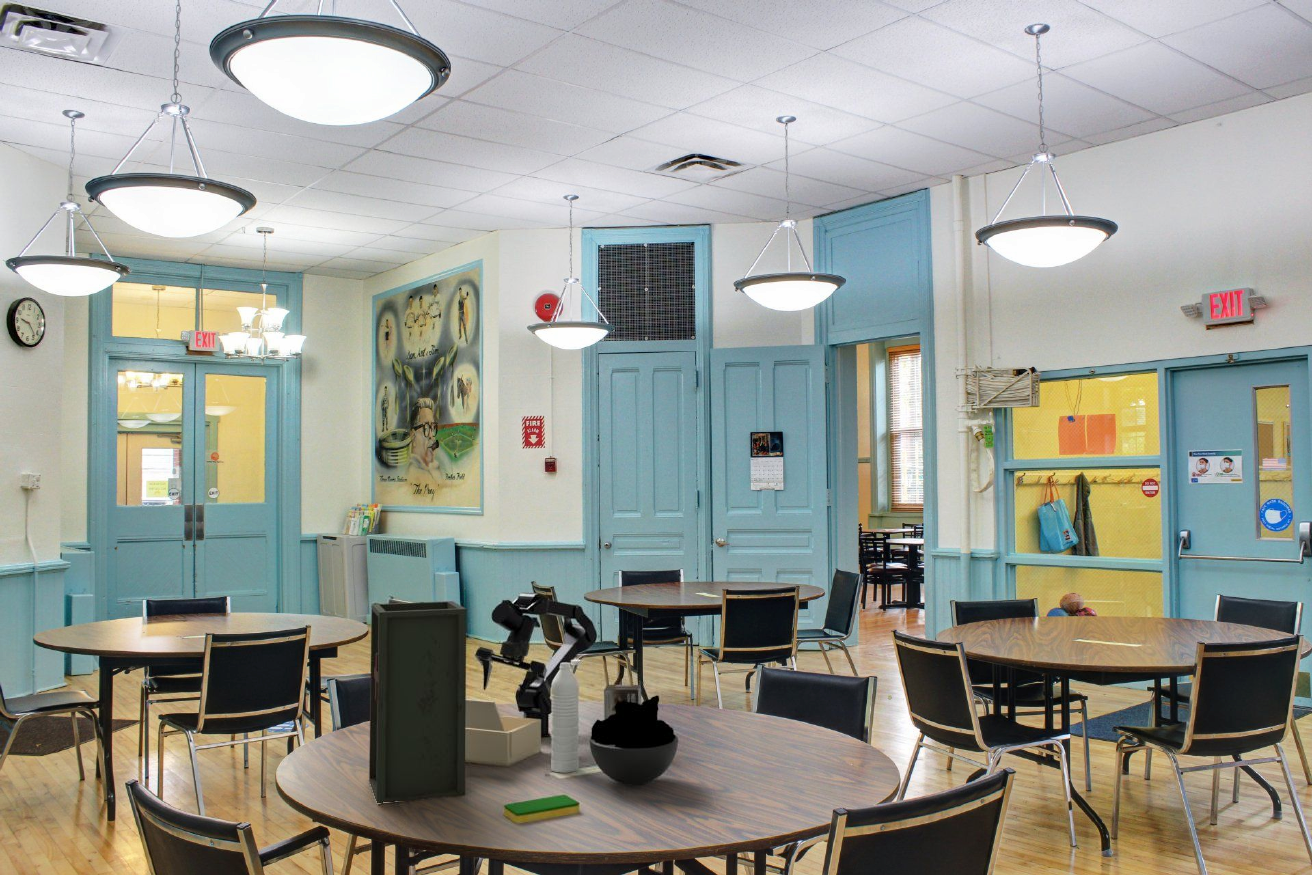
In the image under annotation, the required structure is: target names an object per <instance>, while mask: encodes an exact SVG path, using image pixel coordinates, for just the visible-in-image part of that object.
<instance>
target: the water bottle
mask: <svg viewBox="0 0 1312 875" xmlns="http://www.w3.org/2000/svg"><path fill="white" fill-rule="evenodd" d="M571 665H573V666H578V665H579V666H580V665H582V659H573V660H571V663H560V670H559V671H558V673H557V675H556V676H555V678H554V679H553V681H552V685H551V700H552V713H551V718H550V719H551V720H550V721H551V722H550V723H551V733H550V737H551V743H550V744H551V751H550V752H551V754H550V755H551V756H550V757H551V761H550V762H551V763H550V768H551V771H552V772H555V773H563V774H567V773H574V772H576V771H578V770H579V765H580V759H579V754H580V753H579V752H580V750H579V748H580V744H579V739H580V734H579V731H580V729H579V727H580V726H579V722H580V720H579V719H580V718H579V714H580V713H579V703H580V702H579V689H580V687H579V686H580V684H579V683H580V682H579V680H578V679H577V676H576V675H575V674H574V672H573V671H572V670H571V667H572V666H571Z"/></svg>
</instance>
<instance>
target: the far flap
mask: <svg viewBox="0 0 1312 875" xmlns="http://www.w3.org/2000/svg"><path fill="white" fill-rule="evenodd" d="M500 716H501V715H500V712H499V710H498V707H497V704H496V702H495V701H494V700H485V699H471V698H466V721H465V727H467V728H477V729H487V730H497V731H505V729H504V726H503V723H502V720H501V718H500Z"/></svg>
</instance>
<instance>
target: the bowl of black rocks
mask: <svg viewBox="0 0 1312 875" xmlns="http://www.w3.org/2000/svg"><path fill="white" fill-rule="evenodd" d="M659 702H660V696H659V694H657V695H654V696H652V697H650V698H649V699H648V700H644V701H641V704H638V703H634V702H631V701H629V702H626V701H624V700H623V701H622V702H617V703H616V705H615V711H616V714H613V715H609V717H608V718H606V719H605V720H600V719H596V721H595V722H594V723H593V724H592V726H591V733H590V734H591V736H590V738H589V747H590V753H591V756H592V758H593V761H594V762H595V764H596V765H597V767H598V768H599V769H600V770H601V772H602V773H603V774H604V775H606V777H608V778H609V779H611V780H613V781H615V782H617V783H620V784H622V785H628V786H641V785H645V784H647V783H651V782H653V781H655V780H656V779H657V778H659V777H661V776H662V775H663V774H664V773H665V772H666V771H667V770H668V769H669V768H670V766H671V765H672V763H673V761H674V759H675V757H676V755H677V750H678V746H679V737H678V736H677V734H674V733H675V731H674V728H673V727H672V726H670V724H668V723H666V721H664V720H663V719H658V713H659Z"/></svg>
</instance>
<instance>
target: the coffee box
mask: <svg viewBox="0 0 1312 875" xmlns="http://www.w3.org/2000/svg"><path fill="white" fill-rule="evenodd" d="M623 700H624V701H626V702H629V701H631V702H634V703H638V704H641V705H642V685H641V684H607V685H606V686H605V688H604V689H603V710H604V711H603V714H604V716H603V717H604V718H603V719H604V720H605V719H606V718H608V717H609V715H613V714H616V711H615V705H616V703H617V702H622V701H623Z"/></svg>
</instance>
